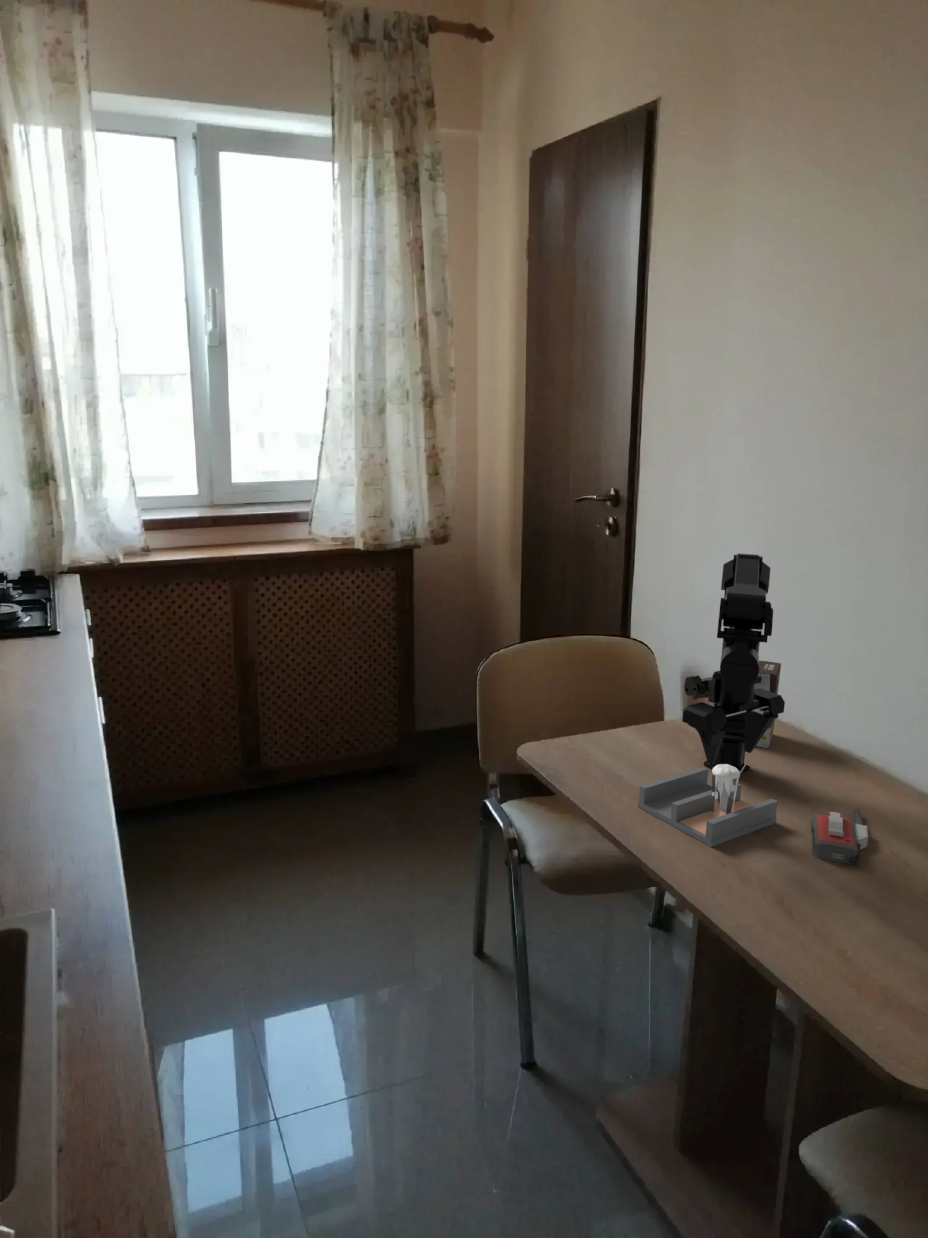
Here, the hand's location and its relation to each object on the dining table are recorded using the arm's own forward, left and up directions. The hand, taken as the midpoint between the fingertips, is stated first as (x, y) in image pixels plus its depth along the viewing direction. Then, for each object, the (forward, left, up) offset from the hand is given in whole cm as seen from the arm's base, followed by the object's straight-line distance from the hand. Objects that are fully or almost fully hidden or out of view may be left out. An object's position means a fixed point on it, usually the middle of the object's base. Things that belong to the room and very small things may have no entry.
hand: (729, 757), depth 154 cm
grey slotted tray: (0, -4, -12) cm, 13 cm away
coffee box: (-36, -23, -12) cm, 45 cm away
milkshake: (0, 0, -11) cm, 11 cm away
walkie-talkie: (-13, +13, -13) cm, 23 cm away
